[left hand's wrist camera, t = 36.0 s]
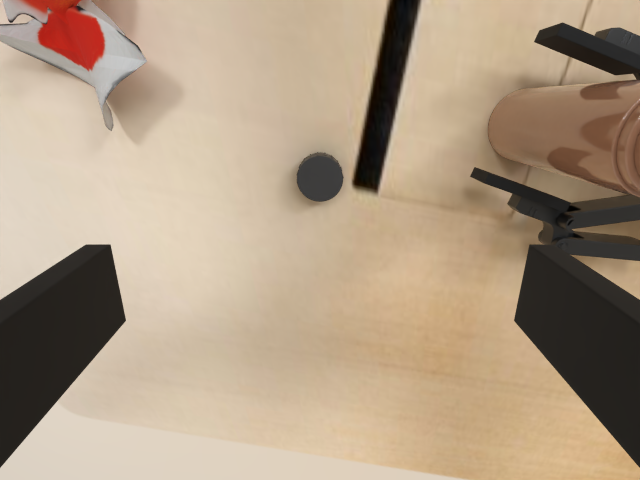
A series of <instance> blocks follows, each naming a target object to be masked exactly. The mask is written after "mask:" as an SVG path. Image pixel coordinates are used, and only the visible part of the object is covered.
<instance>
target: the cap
mask: <svg viewBox="0 0 640 480" xmlns="http://www.w3.org/2000/svg"><path fill="white" fill-rule="evenodd" d="M297 183H298V187H299V189H300V191H301V192H302V193H303V194H304V195H305V196H306V197H307V198H309V199H311V200H313V201H327V200H329V199H331V198H333V197H334V196H335V195H337V193H338V192H339V191H340V189H341V187H342V183H343V174H342V168H341V167H340V165H339V163H338V161H337V160H336V159H335V158H333V157H332V155H331V156H330V155H328V154H326V153H318V152H317V153H315V154H312V155H311V154H310V156H308V157H307V158H304V161H303V162H302V163H301V164H300V166H299V171H298V173H297Z"/></svg>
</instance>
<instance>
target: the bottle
mask: <svg viewBox="0 0 640 480" xmlns="http://www.w3.org/2000/svg"><path fill="white" fill-rule="evenodd" d="M488 135H489V140H490V143H491V145H492V147H493V148H494V150H495V151H496V152H497V153H498V154H499V155H501V156H502V157H504V158H507V159H510V160H513V161H516V162H520V163H523V164H527V165H530V166H534V167H537V168H540V169H544V170H547V171H551V172H554V173H557V174H561V175H564V176H568V177H571V178H575V179H578V180H581V181H585V182H588V183H592V184H595V185H598V186H602V187H605V188H609V189H612V190H616V191H619V192H622V193H626V194H629V195H633V196H636V197H640V80H627V81H614V82H601V83H588V84H575V85H562V86H550V87H537V88H525V89H520V90H517V91H514V92H512V93H510V94H509V95H507V96H506V97H505V98H503V99H502V100H501V101H500V102H499V103H498V105H497V106H496V107H495V109H494V111H493V113H492V115H491V117H490V120H489V125H488Z"/></svg>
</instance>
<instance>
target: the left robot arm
mask: <svg viewBox="0 0 640 480" xmlns="http://www.w3.org/2000/svg"><path fill="white" fill-rule="evenodd" d="M125 321H126V319H125V314H124V309H123V304H122V299H121V294H120V289H119V284H118V279H117V275H116V270H115V265H114V260H113V255H112V250H111V245H85V246H83V247H82V248H80V249H78V250H77V251H75V252H74V253H72V254H71V255H69V256H68V257H66V258H65V259H63V260H61V261H60V262H58V263H57V264H55V265H54V266H52V267H51V268H49V269H47V270H46V271H44V272H43V273H41V274H40V275H38V276H37V277H35V278H34V279H32V280H30V281H29V282H27V283H26V284H24V285H23V286H21V287H20V288H18V289H17V290H15V291H13V292H12V293H10V294H9V295H7V296H6V297H4V298H3V299H1V300H0V467H1V466H2V465H3V464H4V463H5V461H6V460H7V459H8V458H9V457H10V456H11V454H12V453H13V452H14V451H15V450H16V449H17V447H18V446H19V445H20V444H21V443H22V442H23V440H24V439H25V438H26V437H27V436H28V435H29V433H30V432H31V431H32V430H33V429H34V428H35V426H36V425H37V424H38V423H39V422H40V421H41V419H42V418H43V417H44V416H45V415H46V414H47V412H48V411H49V410H50V409H51V408H52V406H53V405H54V404H55V403H56V402H57V401H58V399H59V398H60V397H61V396H62V395H63V394H64V392H65V391H66V390H67V389H68V388H69V387H70V385H71V384H72V383H73V382H74V381H75V380H76V378H77V377H78V376H79V375H80V374H81V373H82V371H83V370H84V369H85V368H86V367H87V366H88V364H89V363H90V362H91V361H92V360H93V359H94V357H95V356H96V355H97V354H98V353H99V351H100V350H101V349H102V348H103V347H104V346H105V344H106V343H107V342H108V341H109V340H110V339H111V337H112V336H113V335H114V334H115V333H116V332H117V330H118V329H119V328H120V327H121V326H122V325H123V323H124V322H125ZM514 321H515V322H516V323H517V325H518V326H519V327H520V328H521V329H522V330H523V332H524V333H525V334H526V335H527V336H528V337H529V339H530V340H531V341H532V342H533V343H534V344H535V346H536V347H537V348H538V349H539V350H540V351H541V353H542V354H543V355H544V356H545V357H546V359H547V360H548V361H549V362H550V363H551V364H552V366H553V367H554V368H555V369H556V370H557V371H558V373H559V374H560V375H561V376H562V377H563V378H564V380H565V381H566V382H567V383H568V384H569V385H570V387H571V388H572V389H573V390H574V391H575V392H576V394H577V395H578V396H579V397H580V398H581V399H582V401H583V402H584V403H585V404H586V405H587V407H588V408H589V409H590V410H591V411H592V412H593V414H594V415H595V416H596V417H597V418H598V419H599V421H600V422H601V423H602V424H603V425H604V426H605V428H606V429H607V430H608V431H609V432H610V433H611V435H612V436H613V437H614V438H615V439H616V440H617V442H618V443H619V444H620V445H621V446H622V447H623V449H624V450H625V451H626V452H627V453H628V454H629V456H630V457H631V458H632V459H633V460H634V462H635V463H636V464H637V465H638V466H639V467H640V300H639V299H637V298H636V297H634V296H633V295H631V294H630V293H628V292H627V291H625V290H623V289H622V288H620V287H619V286H617V285H616V284H614V283H613V282H611V281H610V280H608V279H606V278H605V277H603V276H602V275H600V274H599V273H597V272H596V271H594V270H593V269H591V268H589V267H588V266H586V265H585V264H583V263H582V262H580V261H579V260H577V259H575V258H574V257H572V256H571V255H569V254H568V253H566V252H565V251H563V250H562V249H560V248H558V247H557V246H555V245H529V250H528V255H527V260H526V265H525V270H524V275H523V279H522V284H521V289H520V294H519V299H518V304H517V309H516V314H515V319H514Z"/></svg>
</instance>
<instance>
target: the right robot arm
mask: <svg viewBox="0 0 640 480" xmlns="http://www.w3.org/2000/svg"><path fill="white" fill-rule="evenodd" d="M534 42H535V43H538V44H540V45H543V46H545V47H548V48H550V49H553V50H555V51H557V52H560V53H562V54H565V55H567V56H570V57H572V58H574V59H577V60H579V61H582V62H584V63H587V64H589V65H592V66H594V67H596V68H599V69H601V70H604V71H606V72H609V73H611V74H614V75H623V74H634V76H635V77H636V79H637V80H640V36H638V35H636V34H633V33H631V32H629V31H627V30H624V29H622V28H610V29H606V30H602V31H598V32H596V34H595V36H593V35H591V34H589V33H586V32H584V31H581V30H579V29H577V28H574V27H572V26H570V25H567V24H565V23H560V24H557V25H554V26H551V27H548V28H545V29H542V30H539V33H538V35H537V37H536V39H535V41H534ZM470 177H472V178H475V179H477V180H479V181H481V182H483V183H485V184H488V185H491V186H493V187H496V188H499V189H502V190H505V191H507V192H510V193H513V194H512V196H511V198H510V200H509V202H508V203H507V204H508V205H509V206H510V207H511V208H512V209H514V210H516V211H518V212H519V213H522V214H524V215H527V216H530V217H533V218H536V219H539V220H541V221H543V224H544V227H543V230H542V231H541V232H540V233H539V235H538V239H539V241H540V242H542V243H543V244H545V245H555V246H557V247H558V248H560V249H562V250H563V251H565V252H566V253H568V254H571V255H581V256H592V257H603V258H614V259H625V260H635V261H640V240H638V239H636V238H632V237H627V236H618V235H608V234H597V233H586V232H576V231H573V230H571V229H575V228H583V227H590V226H598V225H605V224H613V223H620V222H628V221H635V220H640V197H636V196H633V195H626V196H618V197H611V198H604V199H596V200H589V201H582V202H574V203H570V202H567V201H565V200H562V199H560V198H557V197H555V196H552V195H550V194H547V193H544V192H541V191H539V190H536V189H533V188H530V187H528V186H525V185H522V184H519V183H517V182H514V181H511V180H508V179H506V178H503V177H500V176H497V175H495V174H492V173H489V172H487V171H484V170H481V169H478V168H476V167H475V168H474V170H473V172H472V174H471V176H470Z"/></svg>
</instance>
